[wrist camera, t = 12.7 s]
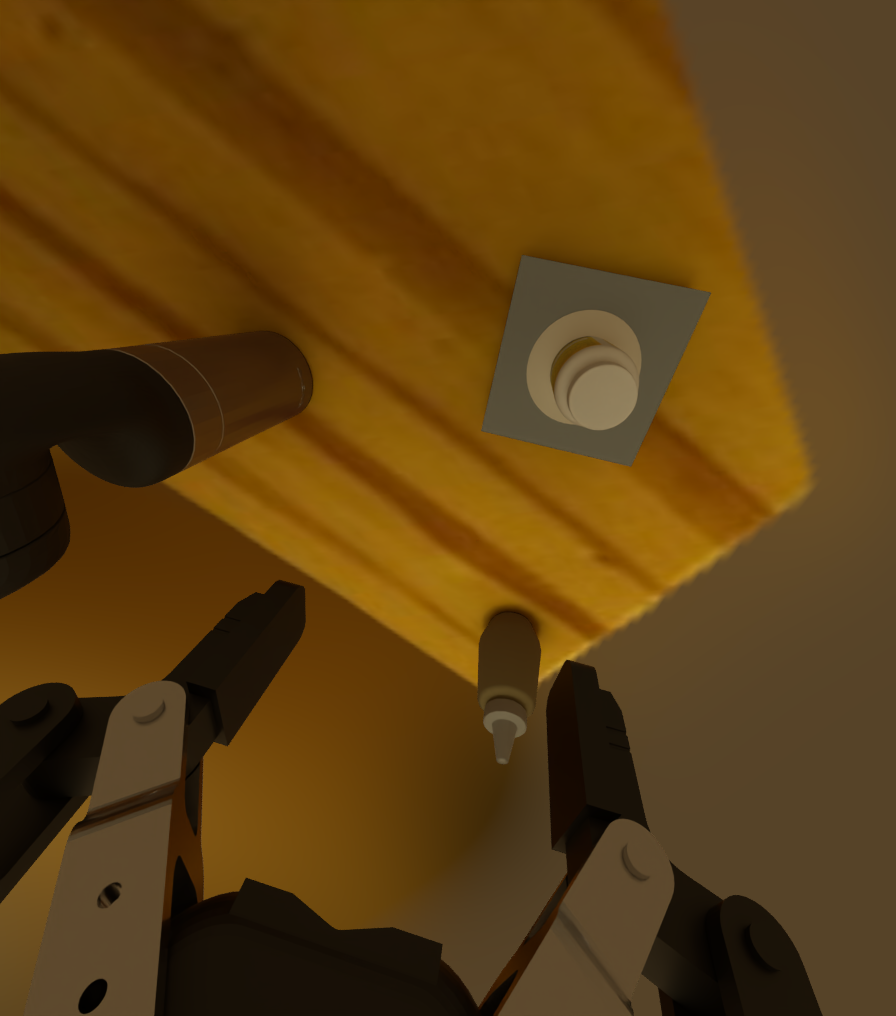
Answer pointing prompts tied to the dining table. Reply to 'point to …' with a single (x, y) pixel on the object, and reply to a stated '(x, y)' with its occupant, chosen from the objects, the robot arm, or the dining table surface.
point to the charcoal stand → (578, 313)
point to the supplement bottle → (594, 383)
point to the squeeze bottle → (507, 678)
